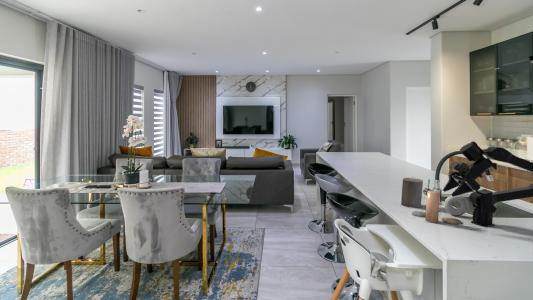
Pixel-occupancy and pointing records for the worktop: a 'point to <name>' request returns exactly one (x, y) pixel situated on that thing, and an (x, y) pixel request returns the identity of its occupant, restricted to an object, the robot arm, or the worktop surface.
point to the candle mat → (419, 214)
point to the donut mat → (451, 220)
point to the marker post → (432, 206)
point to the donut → (456, 211)
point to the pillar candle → (412, 192)
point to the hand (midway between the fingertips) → (447, 193)
